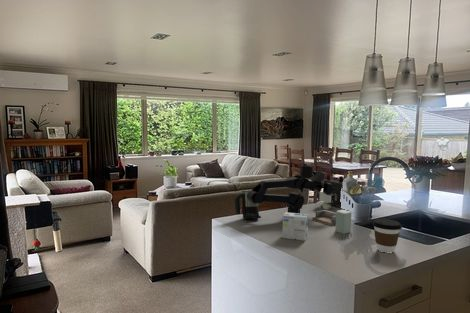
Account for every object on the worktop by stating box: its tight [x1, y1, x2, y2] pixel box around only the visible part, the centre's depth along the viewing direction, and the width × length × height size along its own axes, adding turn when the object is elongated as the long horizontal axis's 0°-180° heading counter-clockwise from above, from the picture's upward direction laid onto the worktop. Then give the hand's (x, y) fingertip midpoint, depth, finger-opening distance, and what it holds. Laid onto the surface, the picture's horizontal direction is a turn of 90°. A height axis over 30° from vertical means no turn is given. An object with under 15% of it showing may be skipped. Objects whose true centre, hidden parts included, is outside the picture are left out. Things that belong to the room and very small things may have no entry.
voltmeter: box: [323, 173, 344, 208], centre depth 217 cm, size 16×16×20 cm
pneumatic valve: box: [316, 189, 337, 211], centre depth 207 cm, size 6×12×12 cm, turn 51°
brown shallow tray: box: [311, 209, 336, 226], centre depth 179 cm, size 10×12×4 cm
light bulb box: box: [281, 211, 309, 242], centre depth 151 cm, size 11×7×11 cm, turn 71°
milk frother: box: [234, 190, 262, 220], centre depth 178 cm, size 14×16×15 cm
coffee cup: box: [371, 218, 403, 254], centre depth 136 cm, size 11×11×12 cm
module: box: [334, 209, 352, 235], centre depth 161 cm, size 5×5×10 cm
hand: (333, 187), depth 191 cm, fingers open, 9 cm apart
